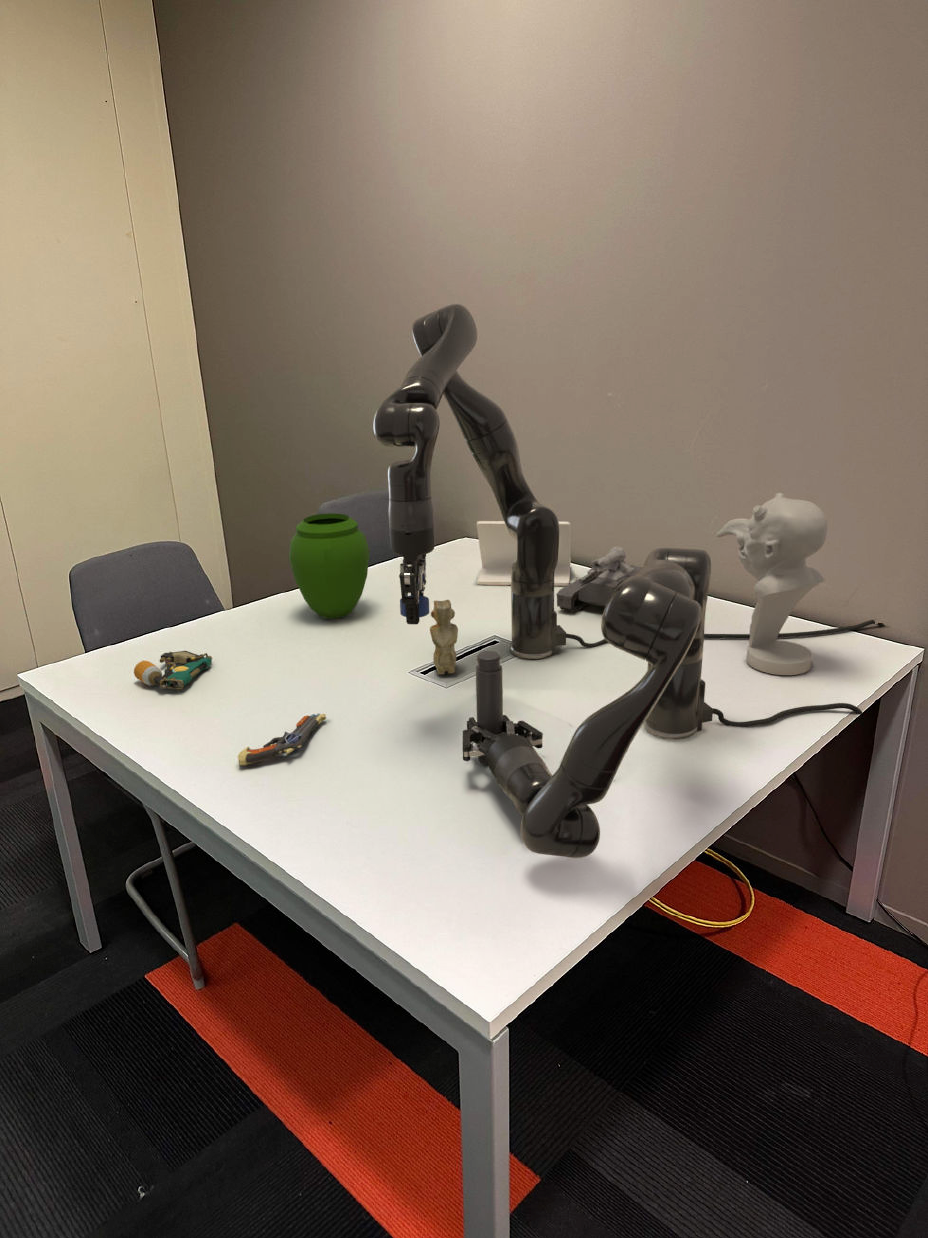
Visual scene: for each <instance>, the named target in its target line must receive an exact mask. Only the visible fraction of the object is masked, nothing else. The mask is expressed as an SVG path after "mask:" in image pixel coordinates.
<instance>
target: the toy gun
mask: <svg viewBox="0 0 928 1238" xmlns="http://www.w3.org/2000/svg"><path fill="white" fill-rule="evenodd" d="M326 719H327V714H325V713H317V714H315V713H312V714H311V715H304V716H302V718H301V719H300V720H298V722H297V723H296V724H295V725H296V726H295V727H296V728H295V729H294V730H293V731H292V732H287V731H284V733H283V735H282V736H277V737H273V738H272V739H271V740H269V741H268V742H266V743H265V744H264V745H263V746H262V747H260V748H255V749H253V748H252V749H251V747H250V746H247V747H245V748H244V749H242V750H241V751H240V752H239V753H238V755H237V760H238V764H239V766H246V765H250V764H254V763H258V762H262V761H265V760H268V759H271V758H275V757H279V756H282V755H284V754H286V755H288V754H290V753H292V752H294V751H295V750H296V749H300V748H301V747H302V746H303V744H304V743H305V742H306V741H307V740H308V738H309V736H310V734H311V733H312V732H313V731H314V730H315V729H316V728H317V727H318V726H319V725H320V724H321V723H322V722H324V721H326Z"/></svg>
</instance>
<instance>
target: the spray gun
mask: <svg viewBox="0 0 928 1238" xmlns="http://www.w3.org/2000/svg"><path fill="white" fill-rule="evenodd" d="M212 660H213V657H212V656H211V655H208V653H207V652H205V653H201V654H197V653H194V652H192V651H191V652H190V651H188V650H180V651H169V652H164V653H162V654H161V655H160V658H159V660H158V662H159V663H161V664H163V663H165V664H166V668H165V670H163V672H164V674H163V673H162V669H160V668H159V666H157V665H156V664H154V663H152V662H151V661H149V660H141V661H139V662H138V663H136V665H135V666H134V668H133V675H134V677H135V678H136V679H137V680H139V681H140V682H142V683H143V684H145V685H147V686H155V685H157V686H158V687H160V688H161V689H171V690H172V689H173V690H182V689H184V687H185V686H186V685H188V684H189V683H190V682H191V681H192V679H193V678H195V677H196V676H197V675H198V674H200V673H201V672H202V671H203V670H206V669H208V668H209V667H210V666H211V665H212V662H213V661H212ZM178 663H179V664H181V665H179V666H176V665H177V664H178Z"/></svg>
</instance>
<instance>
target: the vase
mask: <svg viewBox="0 0 928 1238" xmlns="http://www.w3.org/2000/svg"><path fill="white" fill-rule="evenodd" d="M358 524H359V523H358V521H356V520H355V519H353V518H352V517H350V516H349V515H347V514H344V513H335V512H334V513H333V512H331V513H320V514H313V515H310V516H307V517H305V518H303V519H302V520H301V521H300V522H299V523H298V524H297V525H296V526H295V532H296V533H295V534H294V536H293V537H292V538H291V540H290V542H289V551H288V559H289V564H290V566H291V567H290V568H291V570H292V575H293V578H294V581H295V584H296V586H297V587H298V589H299V591H300V593H301V596H302V597H303V600H304V601H305V603H306V604H307V605H308V607H309V608H310V609H311V611H312V612H314V613H315V614H316V615H317V616H318V617H320V618H324V619H326V620H327V619H329V620H336V619H341V618H345V617H347V616H349V615H350V614H351V613H352V612H353V611H354V610H355V608H356V607H357V605H358V604H359V601H360V599H361V597H362V595H363V592H364V588H365V586H366V581H367V578H368V570H369V561H370V560H369V559H370V548H369V545H368V541H367V537H366V535H365V534H364V533H363V532H362V531H361V530H360V529H359V527H358Z"/></svg>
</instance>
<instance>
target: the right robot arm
mask: <svg viewBox="0 0 928 1238" xmlns="http://www.w3.org/2000/svg"><path fill="white" fill-rule="evenodd" d="M711 574H712V561H711V556H710V554H709V553H708V551H707V550H705V549H704V550H703V549H696V548H695V549H694V548H681V547H657V548H654V549H652V550H651V551H650V552H649V554H648V555H647V557H646V559H645V562H644V565H643V567H642V569H641V570H640V571H639V572H638V573H637V574H636V575H633V576H630V577H629V578H627V579H626V580H624V581H623V582H622V583H621V584H620V585H619V586H618V587H617V588H616V590H615V591H614V592H613V594H612V595H611V597H610V599H609V600H608V602H607V604H606V607H604V609H603V612H602V617H601V622H600V623H601V624H600V625H601V626H600V628H601V635H602V637H603V639H605V640H606V641H607V643H608V644H610V645H611V646H613V647H614V648H616V649H618V650H620V651H623V652H625V653H627V654H629V655H631V656H634V657H636V658H638V659H641V660H643V661H645V662H647V667H646V668H647V669H646V672H645V673H644V675H643V676H642V678H641V679H639V681H638V682H637V683H636V684H635V685H634V686H632V687H631V688H630V689H629V690H628V691H626V692H625V693H623V694H622V695H621V696H619V697H618V698H616V699H614V700H612V701H611V702H609V703H607V704H606V705H604V706H602V707H600V708H599V709H597V710H596V711H594V712H593V713H592V714H590V715H589V716H587V718H585V719H584V720H583V721H582V722H581V723H580V724H579V726H578V727H577V728H576V730H575V731H574V733H573V735H572V736H571V739H570V741H569V743H568V745H567V748H566V751H564V752H565V753H564V755H563V757H562V759H561V762H560V764H559V766H558V768H557V769H556V771H555V772H554V773H553V774H552V772H550V770H549V768H548V766H547V764H546V762H545V761H544V760H543V758H542V756H541V755H540V754H539V753H538V752H537V750H536V749H542V748H543V741H544V740H543V738H544V734H543V732H541V731H540V730H539V729H537V728H536V727H534V726H533V725H531V724H529V723H528V722H526V721H525V720H518V721H517V722H514V721H513V720H510V718H509V716H507V715H506V714H503V733H500V734H492V733H491V732H489V731H488V730H486V729H485V730H482V729H481V728H479V725H478V723H477V719H476V718H475V717H474V716H471V717H470V716H469V717H468V720H466V729H464V730H462V744H461V745H462V747H461V748H462V761H464V762H470V761H471V758H472V757H478V756H479V757H480V758H481V759H482V760H484V761H486V763H487V765H488V766H487V767H488V769H489V770H490V772H491V774H492V776H493V777H494V778H495V780H496V783H497V784H498V785H499V787H500V789H501V790H502V791H503V793H504V794H505V795H506V796H507V797H508V798H509V799H510V800H511V802H512V804H513V806H514V808H515V809H516V810H517V812H518V813H519V814H520V815H521V816H522V818H521V820H520V821H521V822H520V836H521V840H522V843H523V844H524V846H525V847H526V848H527V849H528V850H529V851H531V852H532V853H535V854H538V855H545V856H554V857H555V856H556V857H564V858H570V859H571V858H572V859H582V858H583V859H584V858H586V857H589V856H590V855H592V853H593V852H595V850H596V849H597V847H598V845H599V843H600V838H601V827H600V823H599V820H598V816H596V814H595V812H594V811H593V809H592V807H591V806H589V805H593V804H598V803H599V802H601V801H603V799H604V798H605V797H606V795H607V794H608V791H609V790H610V787H611V786H612V783H613V781H614V779H615V777H616V775H617V773H618V771H619V768H620V766H621V765H622V762H623V760H624V758H625V756H626V754H627V752H628V750H629V748H630V747H631V745H632V743H633V741H634V739H635V738H636V736H637V734H638V733H639V732H640V730H641V729H642V727H644V729H645V730H646V732H648V733H649V734H651V735H653V736H655V737H658V738H660V739H667V740H684V739H688V738H691V737H694V736H695V735H696V734H697V733H699V732H702V731H703V724H704V723H710V722H713V716H714V715H716V716H717V719H718V721H719V722H720V723H721V724H722V725H725V726H729V727H736V728H749V727H757V726H764V725H768V724H771V723H775V722H777V721H778V720H780V719H782V718H784V717H787V716H790V715H795V714H799V713H805V712H807V713H808V712H816V711H817V712H819V711H831V710H837V709H845V710H851V711H852V712H853V713H855V714H856V715H863V714H864V712H863V711H862V710H861V709H860V708H859V707H857V706H856V705H854V704H851V703H849V702H848V703H845V702H836V703H828V704H817V705H805V706H804V705H803V706H798V707H797V706H796V707H794V708H793V707H792V708H787V709H785V710H782V711H779V712H777V713H775V714H774V715H771V716H770V717H769V716H768V717H766V718H761V719H754V720H746V721H732V720H729V719H727V718H725V716H724V713H723V712H722V711H721V710H720V709H718V708H713V707H712V706H711V705H709V704H708V703H706V702H705V696H706V695H705V694H706V682H705V680H704V679H702V671H703V655H704V643H705V642H704V641H705V638H704V634H705V628H706V627H705V625H706V612H707V604H708V598H709V597H708V596H709V590H710V584H711V583H710V582H711ZM474 744H475V745H474ZM476 746H477V747H476ZM478 746H479V748H478Z"/></svg>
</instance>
